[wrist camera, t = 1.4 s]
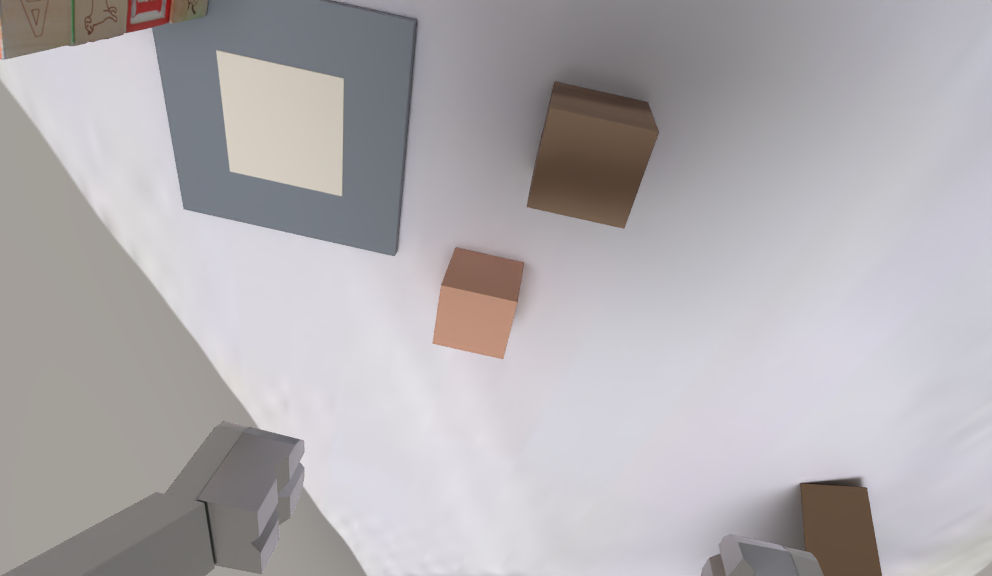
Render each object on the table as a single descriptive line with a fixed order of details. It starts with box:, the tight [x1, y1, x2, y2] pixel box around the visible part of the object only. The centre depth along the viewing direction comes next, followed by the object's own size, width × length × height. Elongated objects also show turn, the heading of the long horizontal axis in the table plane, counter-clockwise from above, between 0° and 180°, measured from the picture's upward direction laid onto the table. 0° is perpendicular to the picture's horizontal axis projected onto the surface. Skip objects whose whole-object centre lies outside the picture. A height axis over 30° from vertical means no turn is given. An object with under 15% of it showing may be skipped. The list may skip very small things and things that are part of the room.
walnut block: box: [527, 81, 659, 228], centre depth 28 cm, size 5×5×5 cm
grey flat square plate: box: [152, 0, 417, 256], centre depth 31 cm, size 14×14×1 cm
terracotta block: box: [433, 248, 524, 359], centre depth 34 cm, size 4×4×4 cm
